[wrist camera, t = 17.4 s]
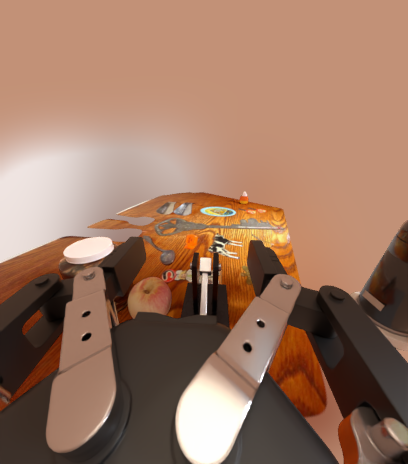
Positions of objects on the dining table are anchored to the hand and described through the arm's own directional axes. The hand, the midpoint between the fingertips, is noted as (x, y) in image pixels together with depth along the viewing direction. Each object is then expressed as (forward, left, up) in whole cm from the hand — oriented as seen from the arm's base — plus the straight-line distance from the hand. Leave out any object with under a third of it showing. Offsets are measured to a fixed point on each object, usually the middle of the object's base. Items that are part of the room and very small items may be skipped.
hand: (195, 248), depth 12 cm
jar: (+29, +5, -26) cm, 39 cm away
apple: (+17, -1, -26) cm, 31 cm away
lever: (+8, -8, -18) cm, 21 cm away
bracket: (+11, -11, -26) cm, 30 cm away
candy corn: (+53, -83, -26) cm, 102 cm away
